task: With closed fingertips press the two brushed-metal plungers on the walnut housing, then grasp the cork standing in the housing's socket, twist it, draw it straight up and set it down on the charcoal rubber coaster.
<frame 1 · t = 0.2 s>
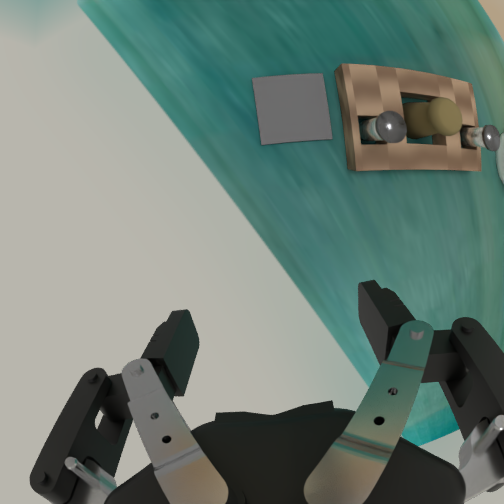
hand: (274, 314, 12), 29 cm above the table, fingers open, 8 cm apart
cork: (411, 120, 33), resting in housing
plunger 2: (476, 137, 27), point 6 cm above the table, slide at 0.0 cm
plunger 1: (379, 128, 29), point 6 cm above the table, slide at 0.0 cm
housing: (412, 120, 33), on the table
pad: (292, 107, 34), on the table
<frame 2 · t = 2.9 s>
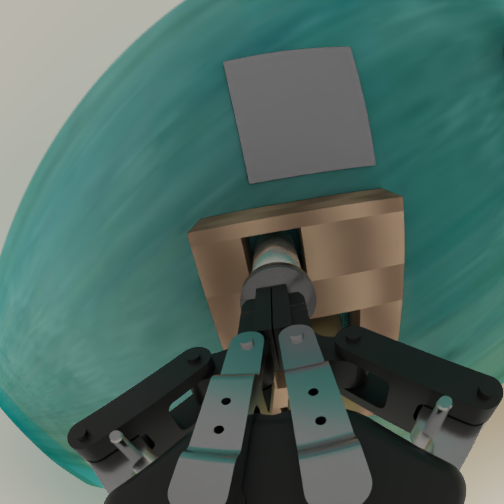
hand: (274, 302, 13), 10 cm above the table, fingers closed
cork: (310, 325, 25), resting in housing
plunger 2: (302, 431, 23), point 6 cm above the table, slide at 0.0 cm
plunger 1: (276, 270, 17), point 6 cm above the table, slide at 0.7 cm, touching gripper
housing: (310, 326, 25), on the table
pad: (301, 109, 18), on the table
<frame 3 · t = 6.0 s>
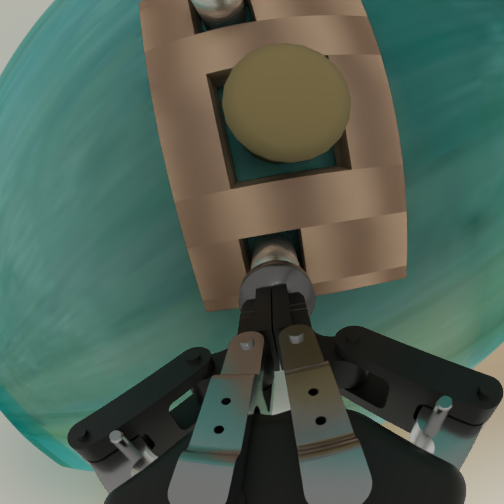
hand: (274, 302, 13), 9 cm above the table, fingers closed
cork: (277, 124, 19), resting in housing
vase: (271, 393, 28), on the table
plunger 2: (275, 268, 17), point 5 cm above the table, slide at 1.3 cm, touching gripper
plunger 1: (218, 0, 11), point 5 cm above the table, slide at 1.4 cm
housing: (277, 123, 18), on the table
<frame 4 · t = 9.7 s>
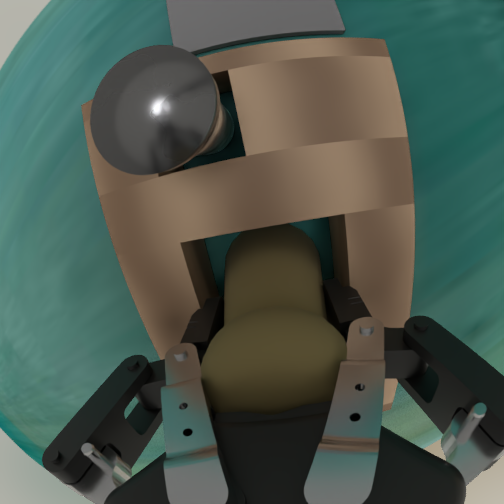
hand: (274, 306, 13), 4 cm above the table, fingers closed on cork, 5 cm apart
cork: (272, 267, 17), resting in housing, touching gripper
plunger 1: (186, 120, 10), point 5 cm above the table, slide at 1.4 cm
housing: (273, 268, 17), on the table
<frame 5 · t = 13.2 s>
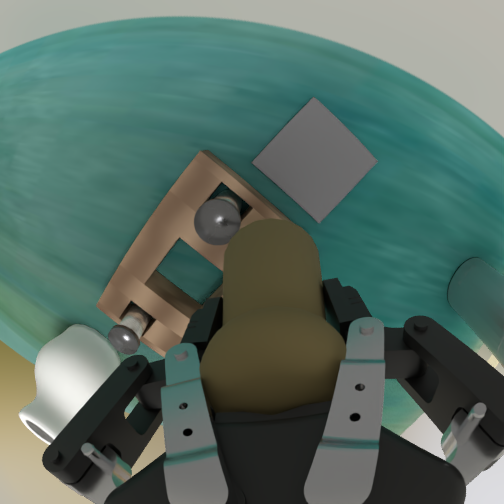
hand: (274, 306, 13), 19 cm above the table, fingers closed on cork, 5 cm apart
cork: (271, 264, 17), point 14 cm above the table, touching gripper
vase: (92, 350, 40), on the table
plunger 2: (134, 322, 31), point 5 cm above the table, slide at 1.5 cm
plunger 1: (223, 211, 26), point 5 cm above the table, slide at 1.4 cm
housing: (195, 268, 33), on the table
pad: (316, 159, 28), on the table
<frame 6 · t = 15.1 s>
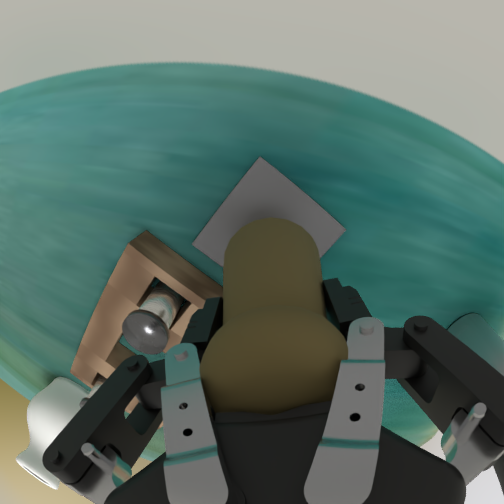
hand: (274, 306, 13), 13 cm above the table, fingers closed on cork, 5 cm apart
cork: (271, 263, 17), point 8 cm above the table, touching gripper
vase: (79, 398, 38), on the table
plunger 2: (104, 390, 28), point 5 cm above the table, slide at 1.5 cm
plunger 1: (160, 308, 23), point 5 cm above the table, slide at 1.4 cm
housing: (153, 343, 30), on the table
pad: (268, 234, 25), on the table
when the fingers open (6 cm above the table, at t = 16.8 s): cork stays where it is, resting on pad.
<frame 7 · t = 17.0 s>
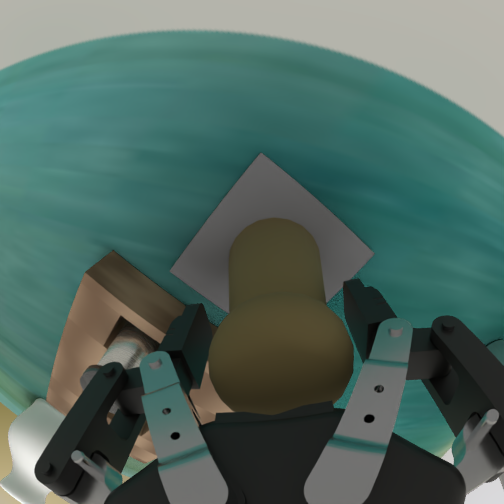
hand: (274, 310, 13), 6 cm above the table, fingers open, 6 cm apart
cork: (274, 261, 18), resting on pad
vase: (62, 420, 31), on the table
plunger 1: (130, 355, 16), point 5 cm above the table, slide at 1.4 cm
housing: (133, 379, 24), on the table
pad: (271, 259, 18), on the table
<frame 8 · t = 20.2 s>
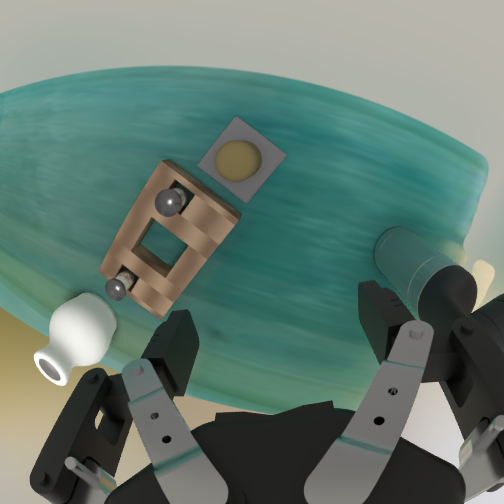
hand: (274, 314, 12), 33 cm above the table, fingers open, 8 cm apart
cork: (242, 159, 41), resting on pad
vase: (95, 314, 54), on the table
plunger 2: (124, 280, 45), point 5 cm above the table, slide at 1.5 cm
plunger 1: (176, 198, 39), point 5 cm above the table, slide at 1.4 cm
housing: (166, 240, 47), on the table
pad: (241, 159, 41), on the table
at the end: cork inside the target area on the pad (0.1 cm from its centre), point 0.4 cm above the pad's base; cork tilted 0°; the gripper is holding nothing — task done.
